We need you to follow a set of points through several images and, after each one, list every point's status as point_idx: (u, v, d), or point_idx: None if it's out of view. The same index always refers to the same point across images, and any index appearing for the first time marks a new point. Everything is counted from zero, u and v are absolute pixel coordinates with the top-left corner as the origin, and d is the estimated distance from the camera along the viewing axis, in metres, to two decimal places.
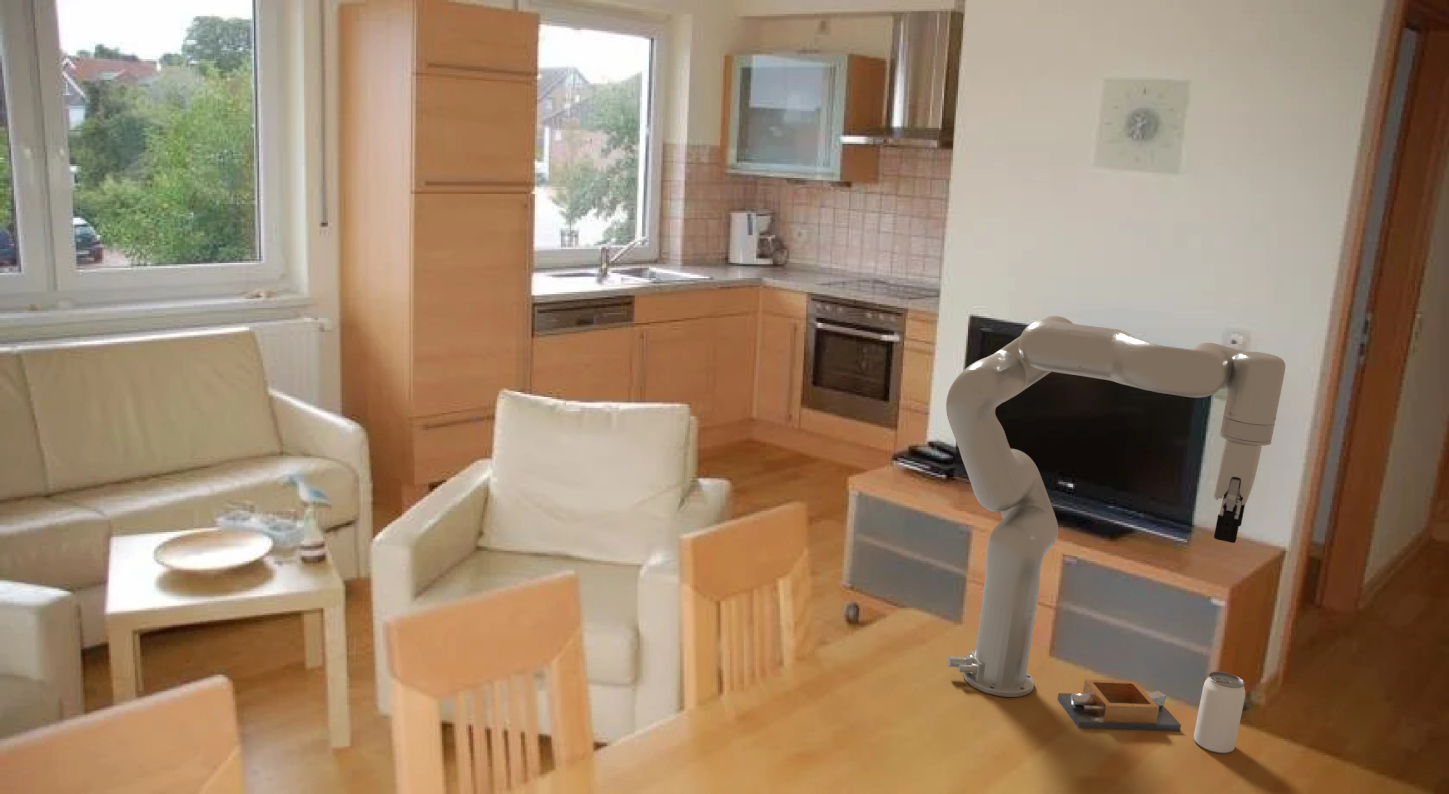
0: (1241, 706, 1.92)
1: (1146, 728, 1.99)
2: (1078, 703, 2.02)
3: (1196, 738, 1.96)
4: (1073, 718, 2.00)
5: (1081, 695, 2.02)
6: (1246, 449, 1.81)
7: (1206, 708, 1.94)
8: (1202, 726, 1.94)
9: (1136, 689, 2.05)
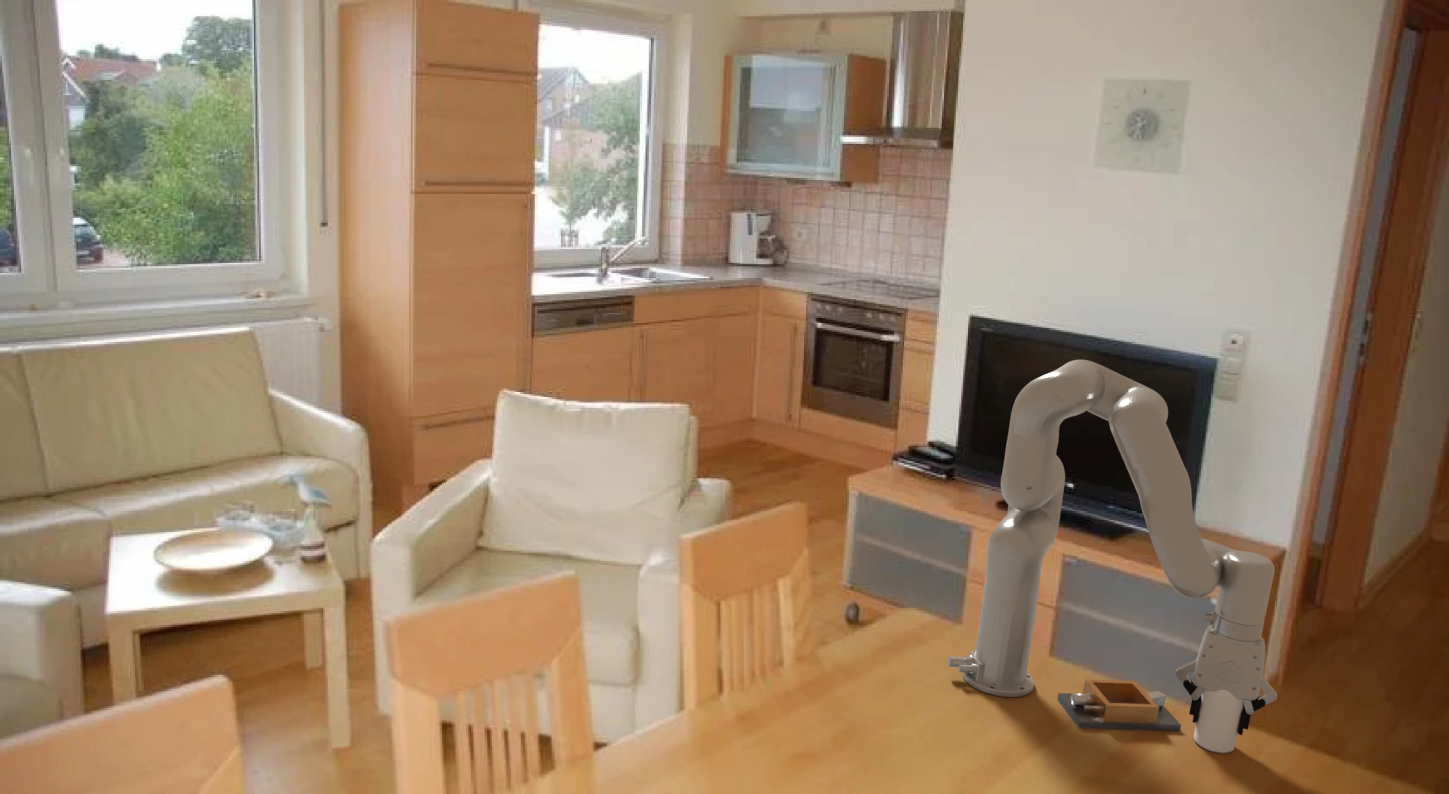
0: (1241, 706, 1.92)
1: (1146, 728, 1.99)
2: (1078, 703, 2.02)
3: (1196, 738, 1.96)
4: (1073, 718, 2.00)
5: (1081, 695, 2.02)
6: None
7: (1206, 708, 1.94)
8: (1202, 726, 1.94)
9: (1136, 689, 2.05)
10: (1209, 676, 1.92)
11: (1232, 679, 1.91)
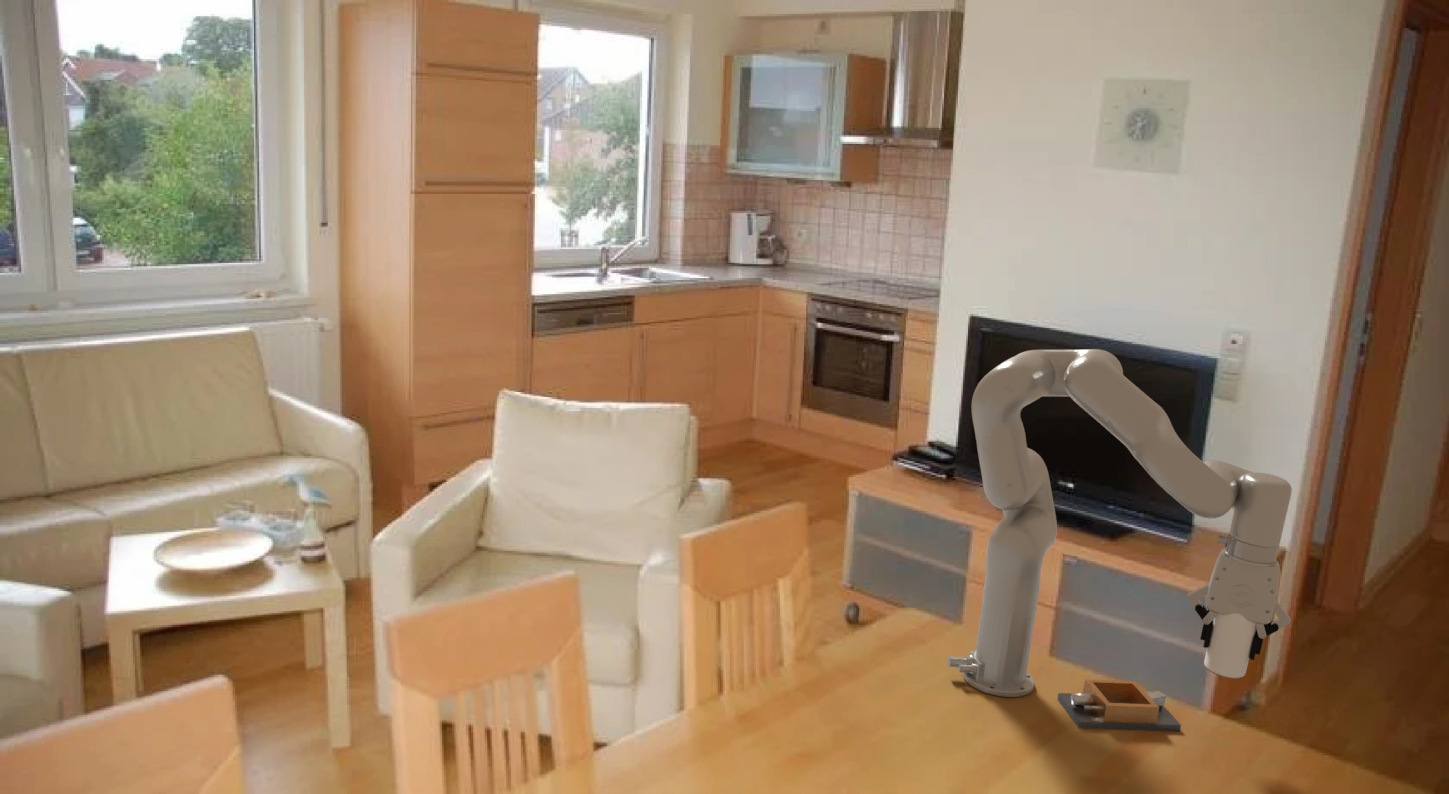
0: (1254, 630, 1.89)
1: (1146, 728, 1.99)
2: (1078, 703, 2.02)
3: (1207, 663, 1.93)
4: (1073, 718, 2.00)
5: (1081, 695, 2.02)
6: None
7: (1217, 633, 1.91)
8: (1213, 651, 1.92)
9: (1136, 689, 2.05)
10: (1222, 599, 1.89)
11: (1245, 602, 1.88)
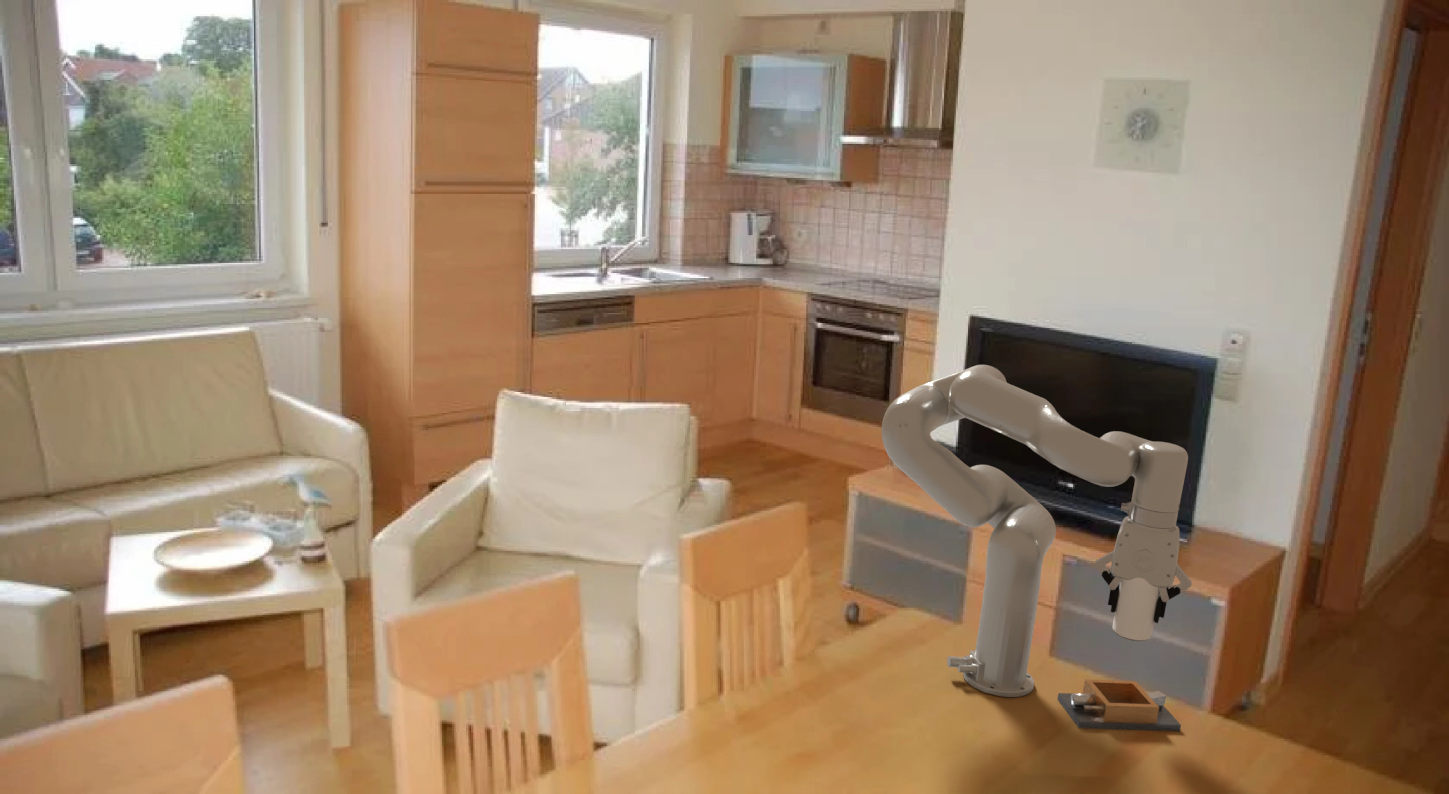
0: (1157, 594, 1.96)
1: (1146, 728, 1.99)
2: (1078, 703, 2.02)
3: (1114, 627, 2.00)
4: (1073, 718, 2.00)
5: (1081, 695, 2.02)
6: None
7: (1123, 597, 1.97)
8: (1119, 615, 1.98)
9: (1136, 689, 2.05)
10: (1125, 564, 1.96)
11: (1147, 566, 1.94)
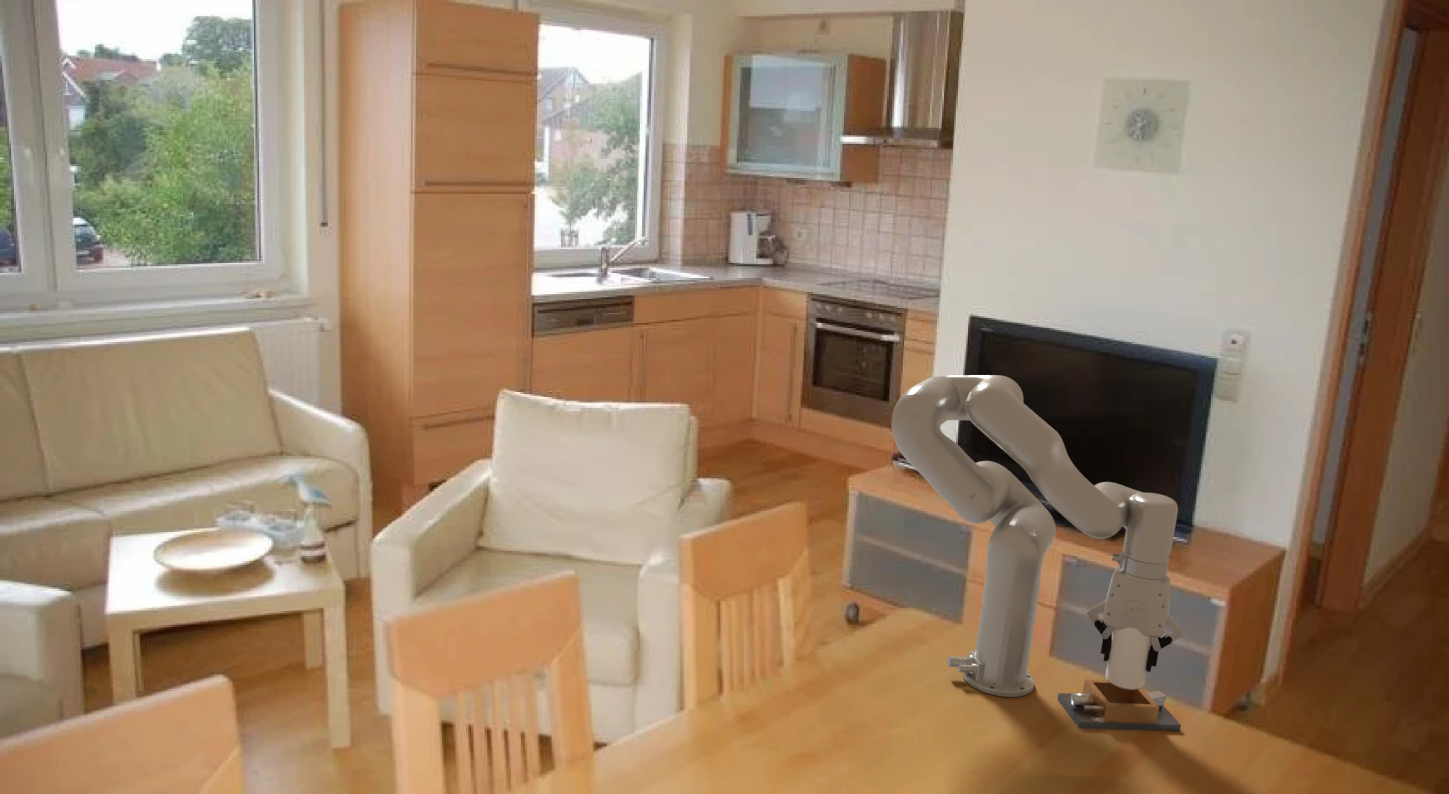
0: (1149, 643, 1.98)
1: (1146, 728, 1.99)
2: (1078, 703, 2.02)
3: (1107, 676, 2.02)
4: (1073, 718, 2.00)
5: (1081, 695, 2.02)
6: None
7: (1115, 646, 1.99)
8: (1112, 664, 2.00)
9: None
10: (1117, 614, 1.98)
11: (1139, 616, 1.97)
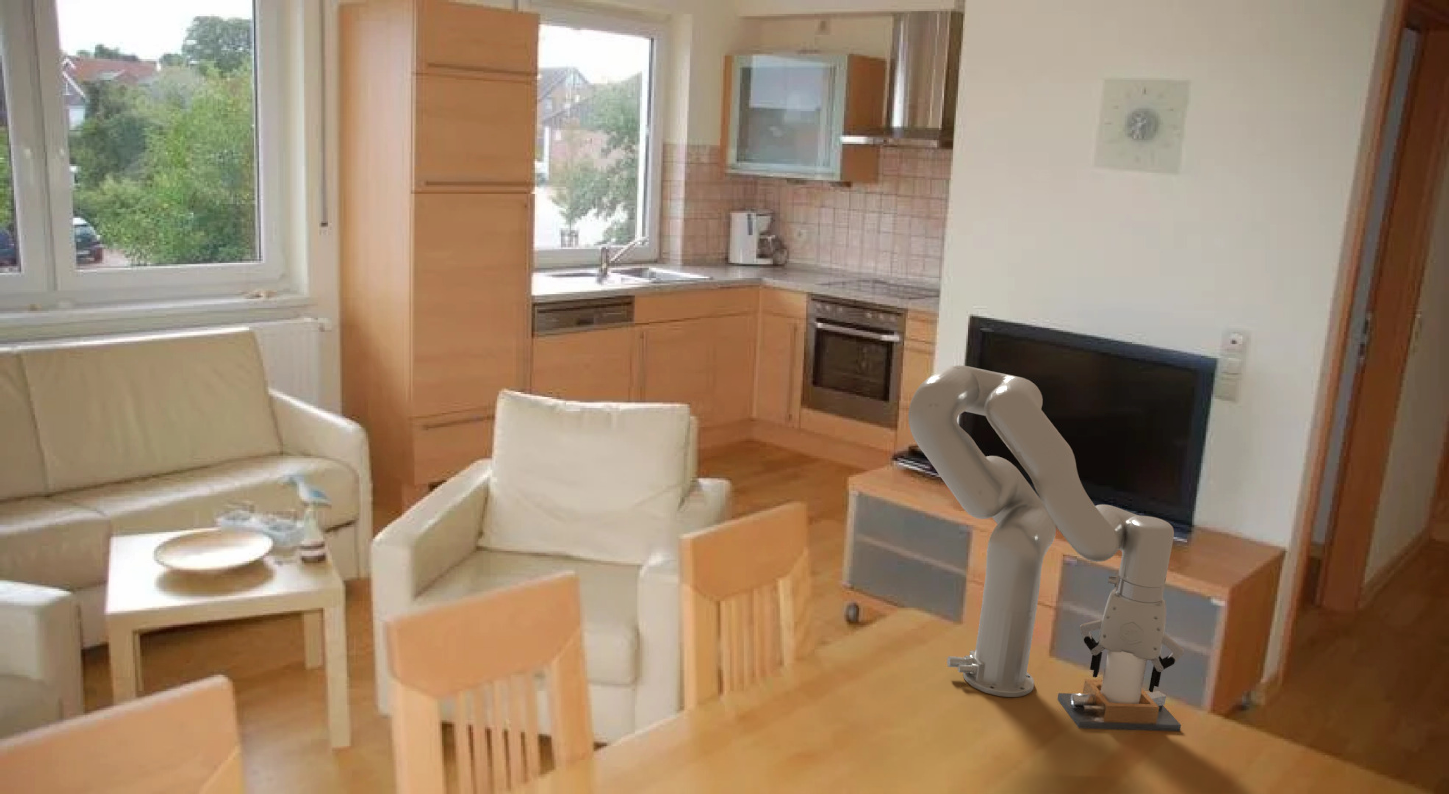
0: (1142, 671, 1.99)
1: (1146, 728, 1.99)
2: (1078, 703, 2.02)
3: None
4: (1073, 718, 2.00)
5: (1081, 695, 2.02)
6: None
7: (1109, 673, 2.01)
8: (1105, 691, 2.02)
9: None
10: (1113, 637, 1.99)
11: (1134, 639, 1.98)
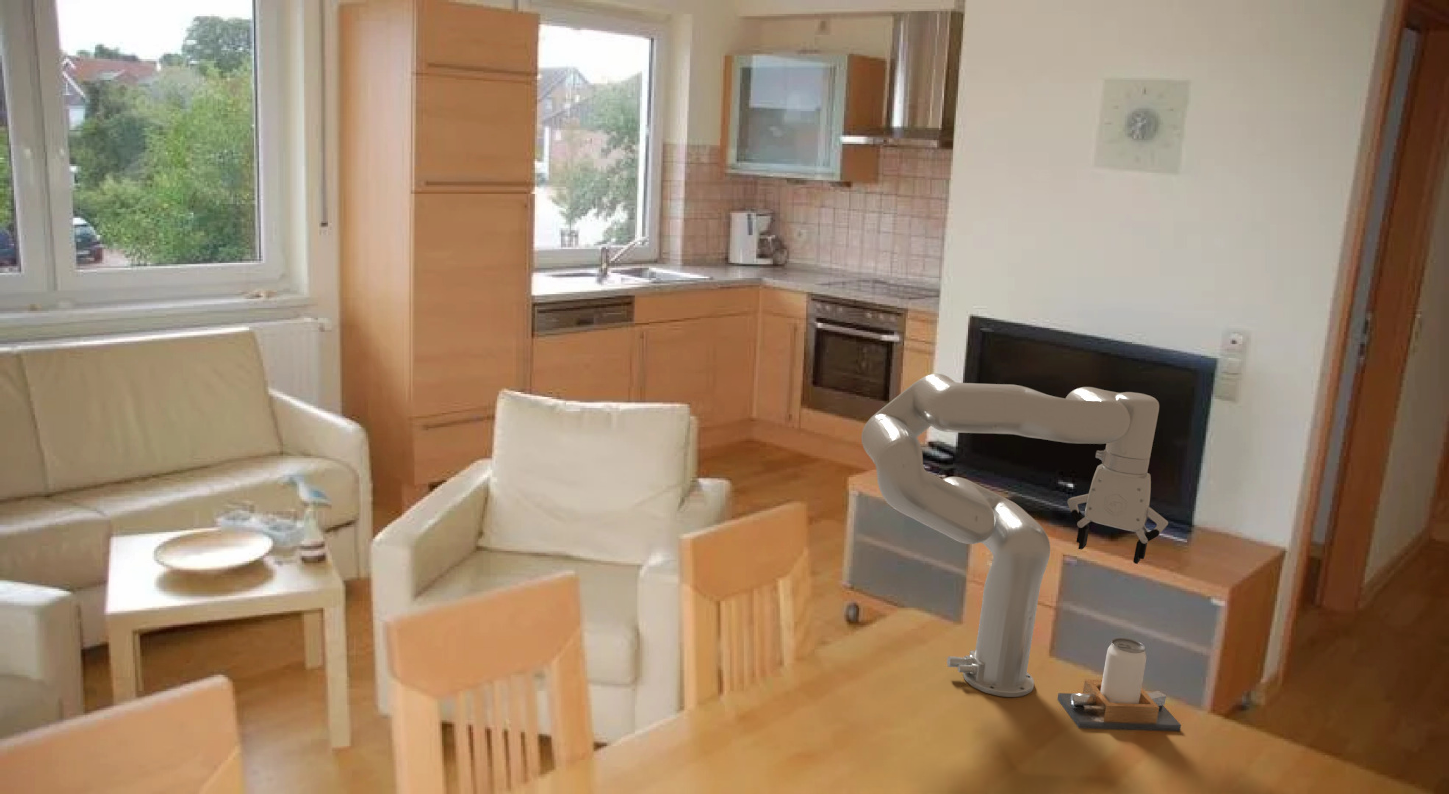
0: (1142, 671, 1.99)
1: (1146, 728, 1.99)
2: (1078, 703, 2.02)
3: None
4: (1073, 718, 2.00)
5: (1081, 695, 2.02)
6: (1150, 479, 2.04)
7: (1108, 673, 2.01)
8: (1105, 690, 2.02)
9: None
10: (1098, 509, 2.06)
11: (1118, 510, 2.04)
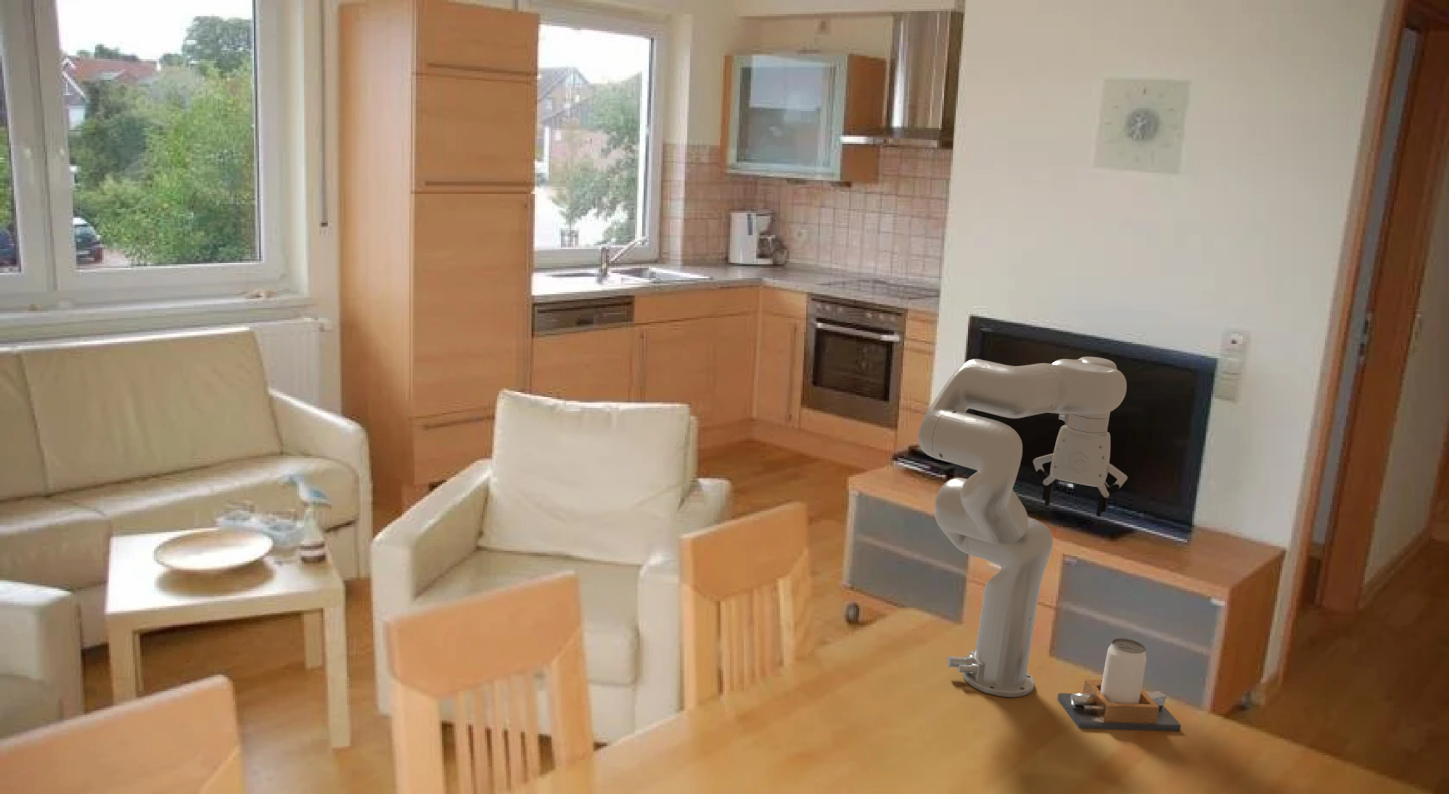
0: (1142, 671, 1.99)
1: (1146, 728, 1.99)
2: (1078, 703, 2.02)
3: None
4: (1073, 718, 2.00)
5: (1081, 695, 2.02)
6: None
7: (1108, 673, 2.01)
8: (1105, 691, 2.02)
9: None
10: (1063, 467, 2.20)
11: (1082, 468, 2.18)
